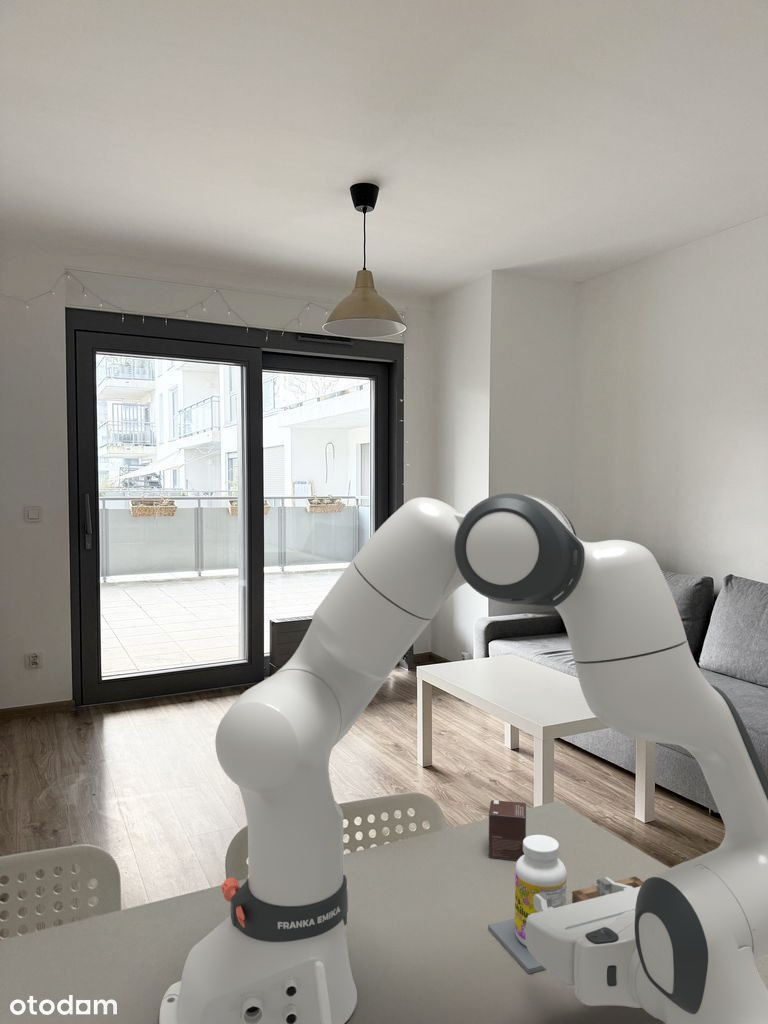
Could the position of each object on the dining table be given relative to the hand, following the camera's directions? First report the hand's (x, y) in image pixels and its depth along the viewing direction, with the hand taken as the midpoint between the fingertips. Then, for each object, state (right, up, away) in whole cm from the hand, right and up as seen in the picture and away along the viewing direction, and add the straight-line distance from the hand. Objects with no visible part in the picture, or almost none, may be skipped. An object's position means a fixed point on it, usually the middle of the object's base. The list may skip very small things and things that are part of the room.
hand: (570, 891), depth 91 cm
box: (-3, -10, +31) cm, 32 cm away
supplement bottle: (-2, -10, +6) cm, 11 cm away
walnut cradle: (+11, -10, +12) cm, 19 cm away
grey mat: (-2, -10, +6) cm, 12 cm away
